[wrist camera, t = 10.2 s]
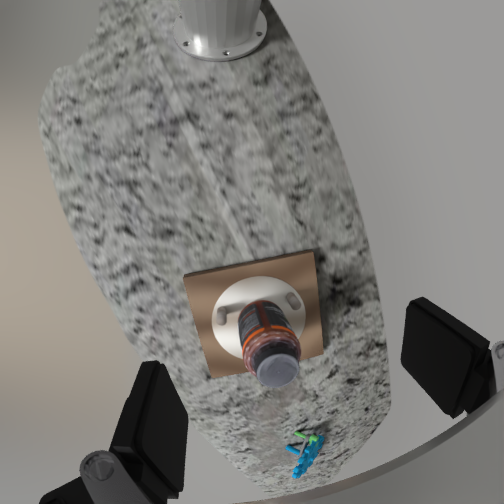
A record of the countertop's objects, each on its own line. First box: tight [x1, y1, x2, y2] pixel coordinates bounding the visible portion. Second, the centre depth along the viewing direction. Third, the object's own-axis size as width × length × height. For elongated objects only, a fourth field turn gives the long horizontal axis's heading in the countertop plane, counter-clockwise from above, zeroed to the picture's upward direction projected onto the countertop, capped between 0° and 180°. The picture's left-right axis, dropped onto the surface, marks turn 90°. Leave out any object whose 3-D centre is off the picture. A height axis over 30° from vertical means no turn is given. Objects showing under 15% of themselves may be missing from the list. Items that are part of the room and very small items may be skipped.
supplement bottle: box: [238, 300, 301, 388], centre depth 28 cm, size 6×6×11 cm
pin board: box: [183, 250, 324, 378], centre depth 33 cm, size 15×16×4 cm
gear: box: [286, 431, 325, 478], centre depth 39 cm, size 11×6×10 cm
